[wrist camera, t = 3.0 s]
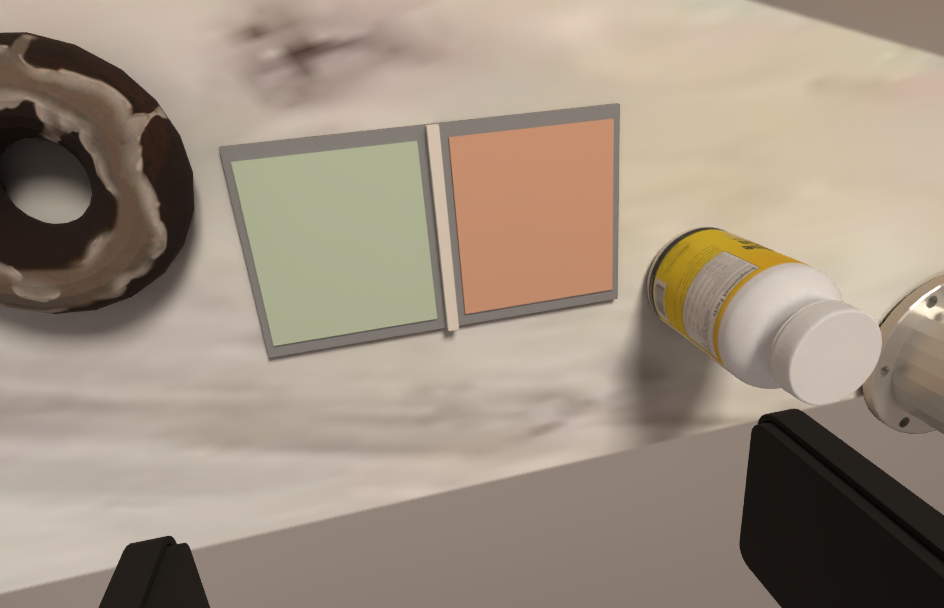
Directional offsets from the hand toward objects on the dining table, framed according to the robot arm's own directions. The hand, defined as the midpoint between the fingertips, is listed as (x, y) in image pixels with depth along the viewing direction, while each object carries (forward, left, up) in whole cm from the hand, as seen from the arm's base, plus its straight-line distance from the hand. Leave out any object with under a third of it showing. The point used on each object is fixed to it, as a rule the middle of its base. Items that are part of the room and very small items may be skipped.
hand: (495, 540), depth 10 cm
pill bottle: (-18, +6, -24) cm, 31 cm away
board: (-3, +1, -24) cm, 24 cm away
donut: (+14, -4, -24) cm, 28 cm away
